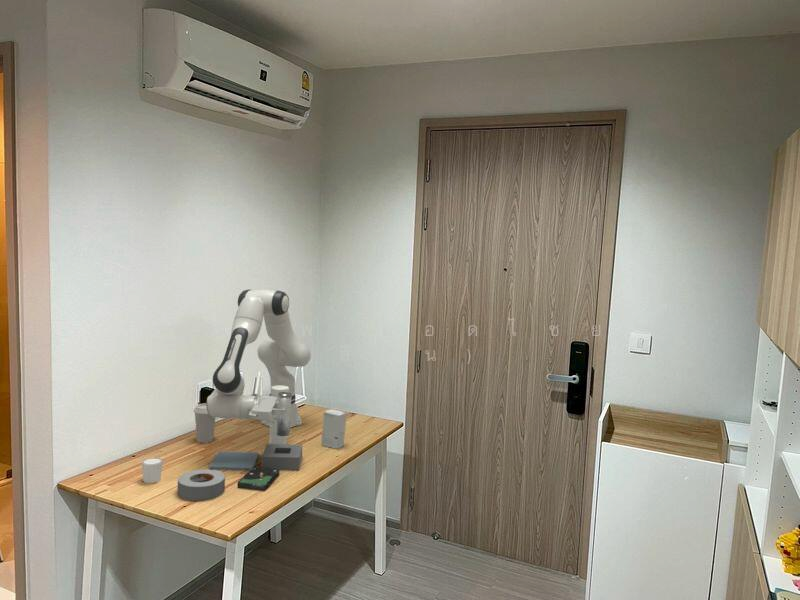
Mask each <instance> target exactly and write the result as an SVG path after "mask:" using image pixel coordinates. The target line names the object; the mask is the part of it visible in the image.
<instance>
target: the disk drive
mask: <svg viewBox="0 0 800 600" xmlns="http://www.w3.org/2000/svg"><path fill="white" fill-rule="evenodd" d="M280 471H281V470H278V469H270V468H264V469H261V467H259V466H254V467H253V468H252V469H251V470H248V472H246V474H245V475H243V476H242V477H241V478H240V479H239V480H238V481H237V489H243V490H251V491H252V490H253V491H261V492H265V491H267V490H268V489H269V488H270V486H271V485H272V484H273V483H274V482H275V481H276V480H277V479H278V478H279V476H280Z"/></svg>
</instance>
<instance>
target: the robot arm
mask: <svg viewBox="0 0 800 600" xmlns="http://www.w3.org/2000/svg"><path fill="white" fill-rule="evenodd" d="M289 306H290V298H289V296H288V294H287V293H286V292H284V291H281V290H272V289H245V290H243V291H242V292H240V294H239V295H238V297H237V307H238V308H237V310H236V313H235V316H234V319H233V323H232V328H231V333H230V339H229V340H228V344H227V347H226V351H225V354H224V356H223V359H222V361H221V363H220V364H219V366H218V367H217V368H216V369H215V371H214V372H213V375H212V382H213V383H212V384H213V385H214V387H215V388H214V390H213V391H212V392H211V394H210V395H208V396H207V398H206V402H205V403H206V405H207V411H208V413H209V414H210V415H211V416H212V417H216V418H218V419H229V420H230V419H233V418H235V419H238V420H257V421H260V424H261V425H265V426H267V427H269V428H270V420H271V418H272V416H273V415H278V414H285V413H286V409H285V408H281V409H276V408H278V402H277V397H274V396H271V393H269V395H259V394H258V393H252V394H250V395H249V394H248V395H243V393H244V390H245V387H246V386H245V380H244V378H243V376H242V374H241V371H240V365H241V362H242V358H243V355H244V353H245V352H244V351H245V349H246V347H247V346H248V345H250V344H252V343H255V341H257V338H258V336H259V335H260V332H261V329H262V326H263V321H264V325H265V329H266V333H267V337H269V339H271V340H265V341H262V342H261V343H260V345H259V346H258V347H257V357H258V359H259V360H260V362H262V363H263V365H264V366H265V367H266V369H267V372H268V375H269V377H270V388H271V387H272V386H277V385H283V386H288V387H289V393H291V417H290V428H293V427H297V426H301V425H303V422H302V419H301V416H300V413H299V407H298V405H297V404H296V394H295V393H296V392H295V391H296V379H295V376H294V375H293V374H292V373H290V371H289V370H288V368H287V367H293V368H297V367H298V368H300V367H301V368H302V367H305V366H307V365H308V364H309V362H310V360H311V356H312V355H311V350H310V348H309V346H307V345H306V344H304V343H303V342H302V341H301V340H300V338H299V337H298V336H297V335H296V334H295V331H294V329H293V326H292V322H291V319H290V318H291V317H290V313H289Z"/></svg>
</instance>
